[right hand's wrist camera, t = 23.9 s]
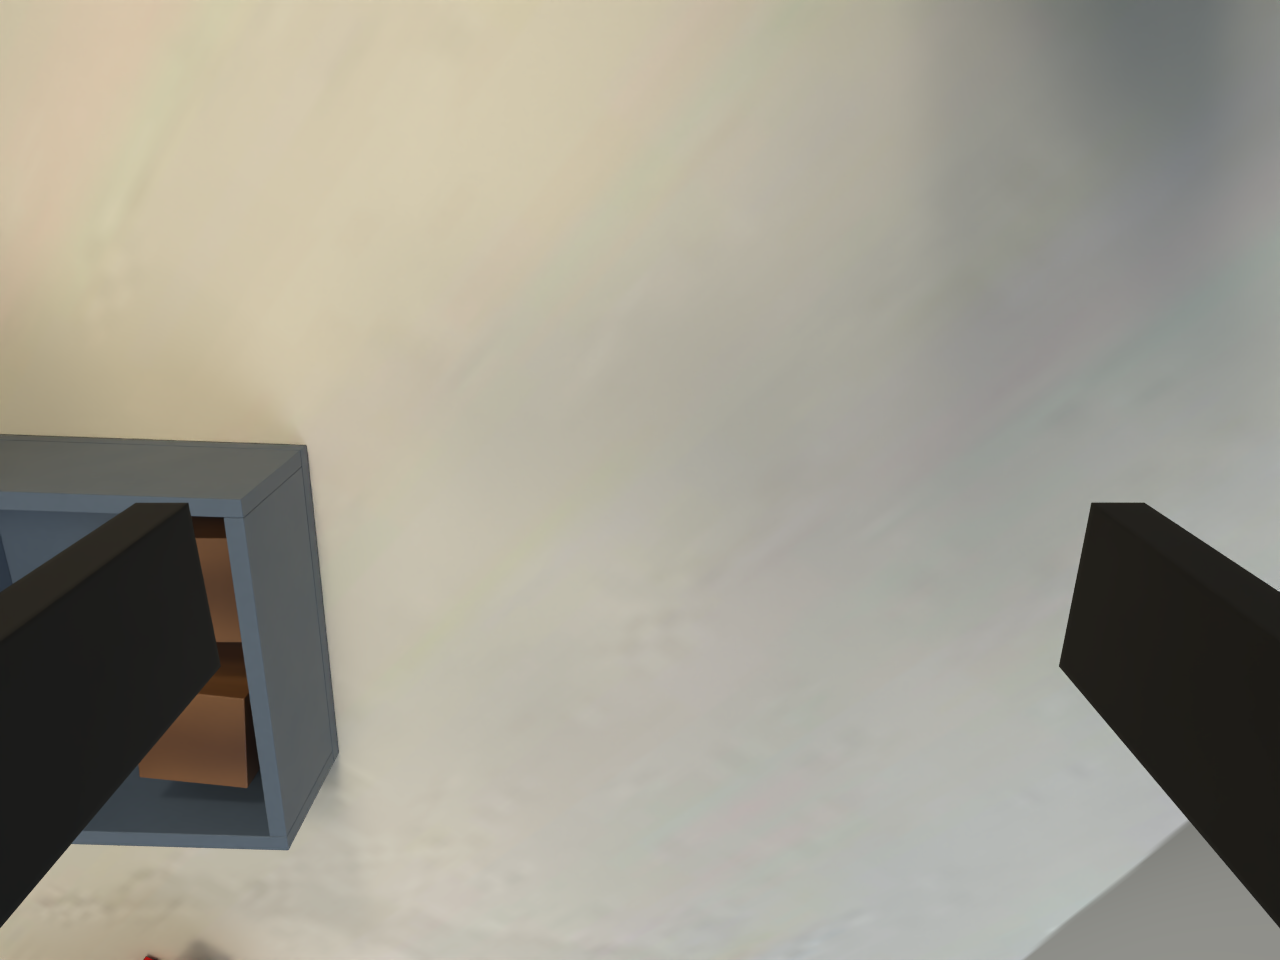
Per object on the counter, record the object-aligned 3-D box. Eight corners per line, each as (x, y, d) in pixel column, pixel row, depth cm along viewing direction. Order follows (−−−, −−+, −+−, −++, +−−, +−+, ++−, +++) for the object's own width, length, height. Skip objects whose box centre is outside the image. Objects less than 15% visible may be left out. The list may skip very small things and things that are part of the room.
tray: (-244, 425, 39) (-420, 476, 33) (306, 444, 40) (240, 499, 33) (-138, 738, 46) (-268, 834, 39) (339, 752, 46) (288, 850, 39)
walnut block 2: (186, 629, 42) (130, 686, 38) (287, 640, 43) (244, 699, 38) (192, 712, 44) (139, 777, 39) (289, 722, 44) (247, 788, 40)
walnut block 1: (172, 494, 40) (110, 537, 35) (278, 494, 40) (230, 538, 35) (191, 588, 42) (134, 642, 37) (293, 589, 42) (249, 642, 37)
